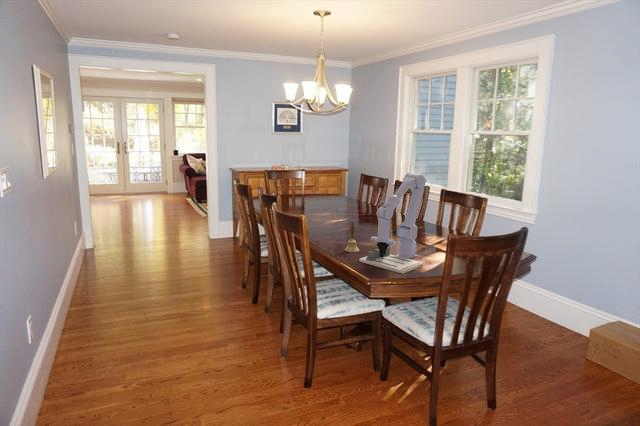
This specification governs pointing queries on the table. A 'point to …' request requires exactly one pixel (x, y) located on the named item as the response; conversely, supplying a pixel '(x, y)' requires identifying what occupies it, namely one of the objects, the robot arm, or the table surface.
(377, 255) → the knob
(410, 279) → the table surface
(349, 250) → the hand bell
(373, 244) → the table surface
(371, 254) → the knob
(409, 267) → the switch board
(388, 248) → the knob
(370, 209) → the table surface
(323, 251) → the table surface
